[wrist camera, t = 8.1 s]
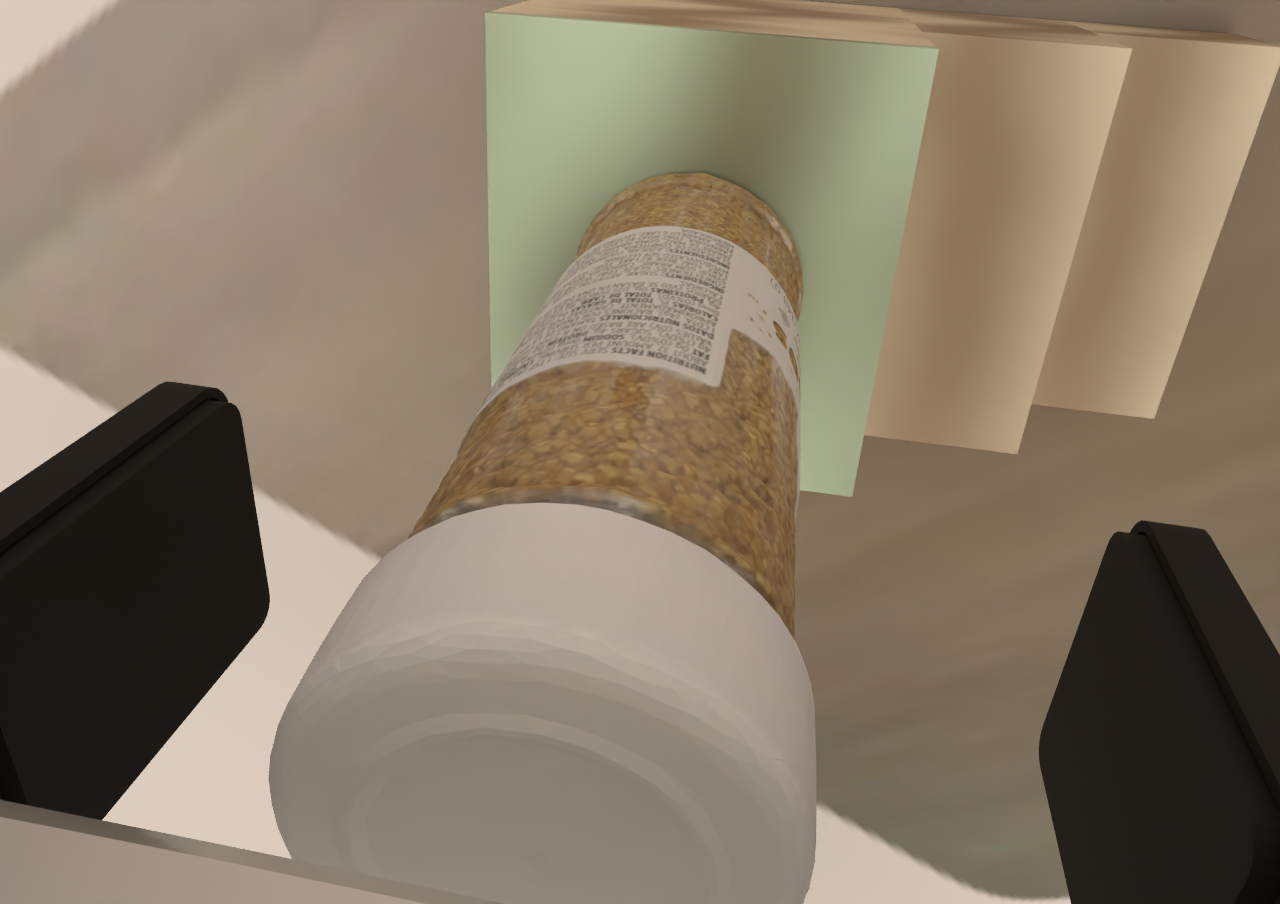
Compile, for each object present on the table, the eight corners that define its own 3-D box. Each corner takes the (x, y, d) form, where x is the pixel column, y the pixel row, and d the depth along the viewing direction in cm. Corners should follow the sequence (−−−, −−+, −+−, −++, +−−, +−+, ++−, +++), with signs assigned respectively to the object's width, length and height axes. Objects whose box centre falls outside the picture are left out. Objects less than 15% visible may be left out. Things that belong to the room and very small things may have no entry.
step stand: (1233, 33, 24) (1441, 90, 16) (1117, 388, 28) (1233, 567, 20) (585, -17, 25) (485, 12, 17) (576, 326, 30) (492, 469, 22)
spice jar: (795, 389, 20) (795, 1069, 9) (577, 378, 21) (302, 1001, 9) (813, 165, 18) (847, 680, 6) (567, 159, 18) (184, 622, 7)
